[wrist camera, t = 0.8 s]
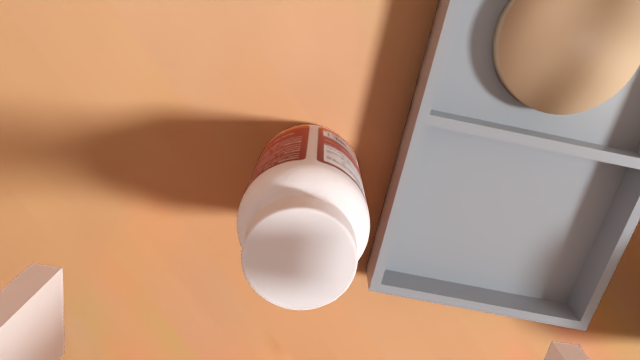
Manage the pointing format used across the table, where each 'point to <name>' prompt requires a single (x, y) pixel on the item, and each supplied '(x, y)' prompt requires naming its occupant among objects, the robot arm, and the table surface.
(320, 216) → the pill bottle
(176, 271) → the table surface
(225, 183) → the table surface
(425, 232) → the caddy
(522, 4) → the coaster
